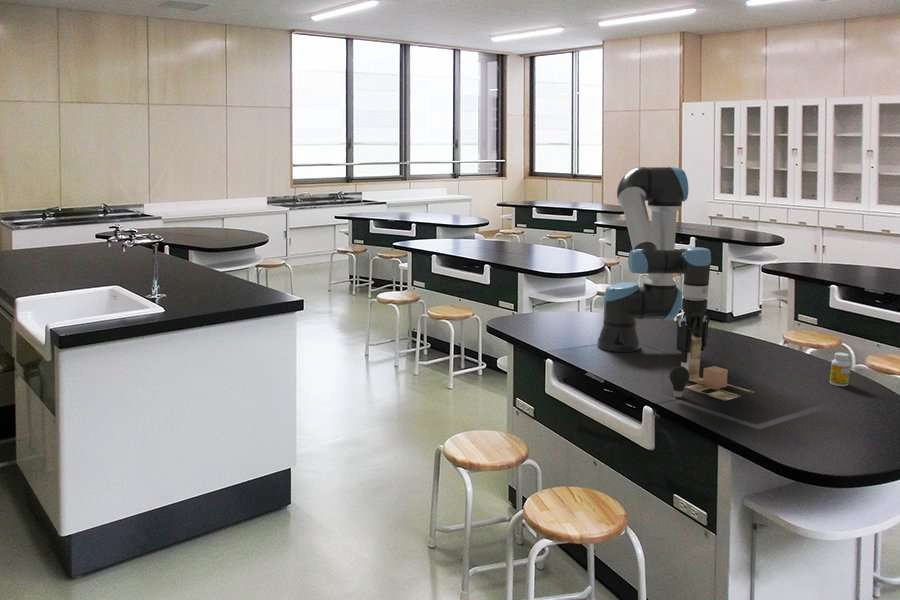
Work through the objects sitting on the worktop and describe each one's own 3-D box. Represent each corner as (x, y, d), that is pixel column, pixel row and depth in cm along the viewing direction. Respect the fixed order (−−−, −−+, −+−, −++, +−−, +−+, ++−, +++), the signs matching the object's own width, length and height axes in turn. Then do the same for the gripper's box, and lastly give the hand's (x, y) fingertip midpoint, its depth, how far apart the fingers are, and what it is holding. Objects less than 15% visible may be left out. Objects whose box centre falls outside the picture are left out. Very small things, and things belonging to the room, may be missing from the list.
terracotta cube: (702, 384, 251) (703, 368, 250) (712, 381, 254) (714, 366, 253) (716, 388, 247) (717, 372, 246) (726, 385, 250) (727, 369, 249)
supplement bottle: (825, 381, 259) (829, 351, 257) (842, 381, 260) (845, 351, 258) (835, 386, 254) (838, 356, 252) (851, 386, 254) (855, 356, 252)
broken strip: (685, 390, 249) (685, 386, 249) (696, 387, 252) (696, 384, 251) (727, 403, 237) (727, 399, 237) (738, 400, 240) (738, 397, 239)
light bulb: (671, 394, 244) (674, 362, 242) (690, 398, 241) (692, 365, 239) (665, 399, 239) (667, 366, 237) (684, 403, 236) (686, 369, 234)
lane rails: (683, 390, 248) (683, 386, 248) (712, 383, 256) (712, 379, 256) (725, 403, 236) (725, 399, 236) (754, 395, 244) (754, 391, 244)
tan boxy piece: (677, 379, 259) (680, 336, 256) (688, 377, 262) (691, 334, 259) (717, 392, 247) (720, 346, 244) (727, 389, 250) (731, 344, 247)
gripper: (686, 303, 246) (681, 378, 250) (722, 297, 255) (717, 369, 260) (666, 298, 252) (662, 372, 256) (702, 293, 261) (697, 364, 266)
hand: (689, 370), depth 258 cm, fingers closed on tan boxy piece, 4 cm apart
